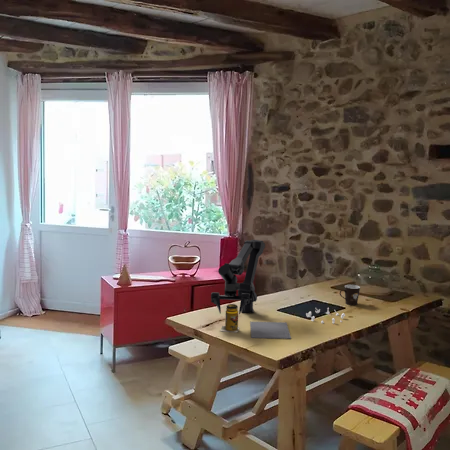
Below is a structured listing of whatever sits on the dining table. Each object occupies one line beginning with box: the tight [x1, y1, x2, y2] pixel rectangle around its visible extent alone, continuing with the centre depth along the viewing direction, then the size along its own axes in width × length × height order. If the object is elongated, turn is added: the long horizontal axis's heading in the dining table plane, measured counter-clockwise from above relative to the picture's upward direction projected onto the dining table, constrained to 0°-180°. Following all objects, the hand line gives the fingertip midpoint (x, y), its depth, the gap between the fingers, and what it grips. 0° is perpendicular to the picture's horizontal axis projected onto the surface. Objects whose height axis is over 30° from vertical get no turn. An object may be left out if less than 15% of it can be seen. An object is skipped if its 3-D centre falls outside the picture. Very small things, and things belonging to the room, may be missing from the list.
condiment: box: [219, 303, 240, 333], centre depth 247 cm, size 7×8×12 cm
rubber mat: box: [249, 321, 292, 340], centre depth 248 cm, size 22×18×1 cm
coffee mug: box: [339, 284, 361, 306], centre depth 295 cm, size 12×9×10 cm
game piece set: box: [305, 307, 346, 324], centre depth 269 cm, size 19×20×4 cm
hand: (229, 313), depth 247 cm, fingers open, 9 cm apart
